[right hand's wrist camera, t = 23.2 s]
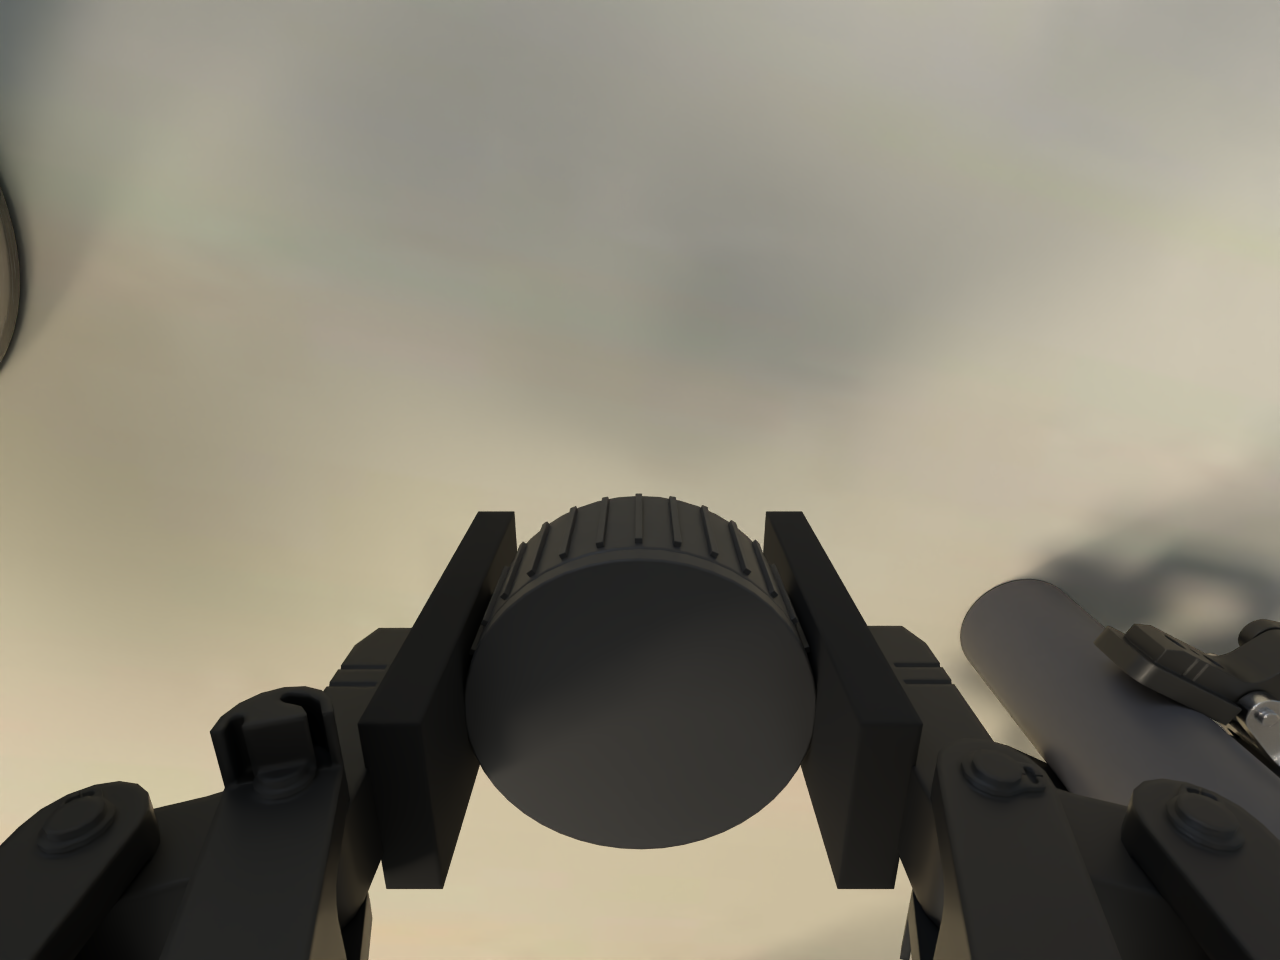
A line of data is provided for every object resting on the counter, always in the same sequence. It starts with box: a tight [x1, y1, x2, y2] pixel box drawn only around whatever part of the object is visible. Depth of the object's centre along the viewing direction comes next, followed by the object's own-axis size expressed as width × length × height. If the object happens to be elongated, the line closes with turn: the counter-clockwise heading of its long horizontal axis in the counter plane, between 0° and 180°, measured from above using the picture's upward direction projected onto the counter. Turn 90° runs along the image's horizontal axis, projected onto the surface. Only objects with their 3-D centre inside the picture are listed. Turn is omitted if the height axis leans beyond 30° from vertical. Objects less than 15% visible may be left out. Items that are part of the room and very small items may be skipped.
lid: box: [464, 494, 817, 849], centre depth 11 cm, size 6×6×2 cm
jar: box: [961, 580, 1280, 840], centre depth 21 cm, size 5×5×18 cm
